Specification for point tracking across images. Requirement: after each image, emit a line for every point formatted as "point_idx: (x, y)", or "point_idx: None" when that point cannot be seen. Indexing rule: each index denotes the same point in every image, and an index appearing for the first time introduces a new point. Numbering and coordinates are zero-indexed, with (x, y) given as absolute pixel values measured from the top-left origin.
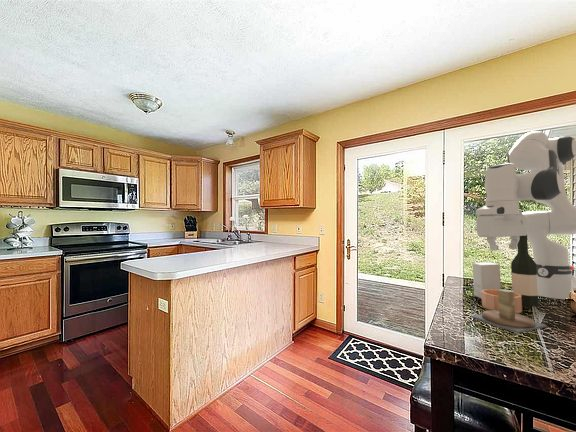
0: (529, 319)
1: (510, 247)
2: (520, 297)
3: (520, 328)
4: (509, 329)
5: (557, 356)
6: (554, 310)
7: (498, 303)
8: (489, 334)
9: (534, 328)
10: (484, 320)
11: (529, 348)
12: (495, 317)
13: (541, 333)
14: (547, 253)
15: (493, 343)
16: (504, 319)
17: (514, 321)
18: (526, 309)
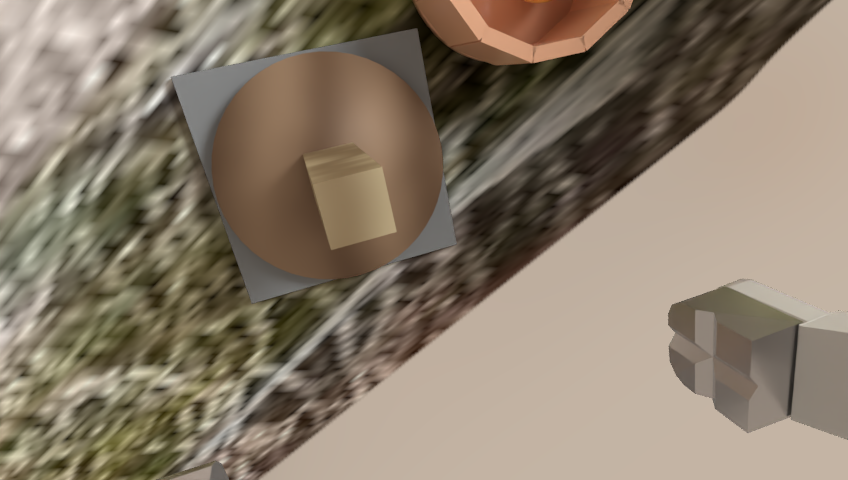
0: (417, 213)
1: (692, 330)
2: (576, 53)
3: (298, 275)
4: (242, 271)
5: None
6: (715, 50)
7: (437, 12)
8: (94, 308)
9: None
10: (199, 154)
11: (169, 428)
12: (261, 170)
13: (359, 303)
14: None
15: (37, 395)
16: (287, 204)
17: (315, 234)
18: None
